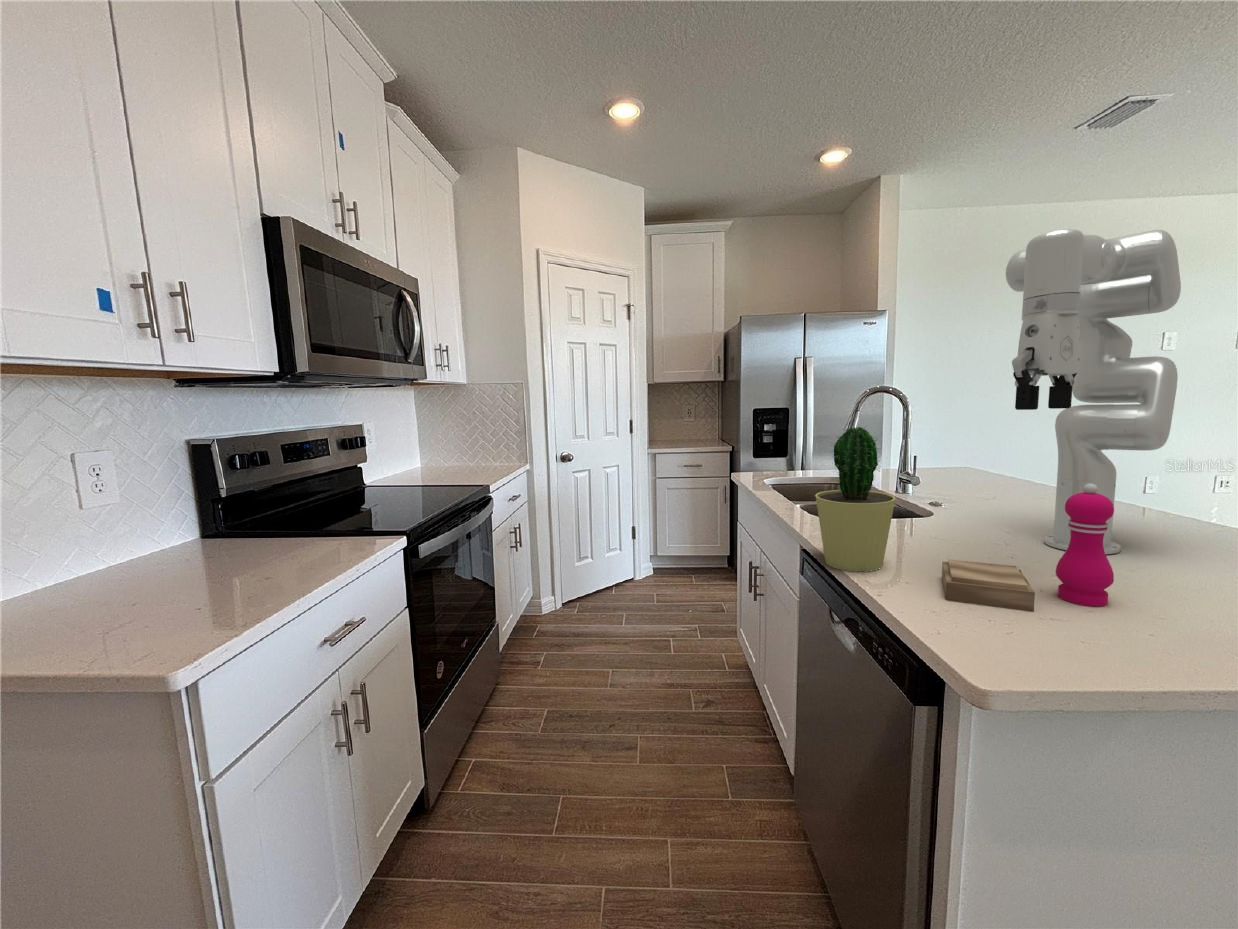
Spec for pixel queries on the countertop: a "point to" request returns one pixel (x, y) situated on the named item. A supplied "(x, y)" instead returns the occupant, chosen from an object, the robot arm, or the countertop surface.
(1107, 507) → the pepper mill
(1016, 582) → the wooden box
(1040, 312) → the robot arm
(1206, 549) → the countertop surface
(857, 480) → the potted cactus
